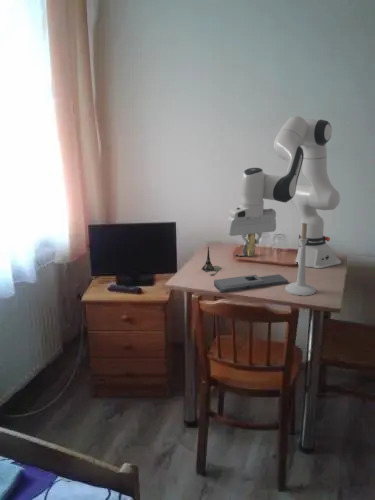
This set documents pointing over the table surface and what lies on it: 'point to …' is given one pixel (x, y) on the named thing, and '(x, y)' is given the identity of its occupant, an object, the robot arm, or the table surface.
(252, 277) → the long grey slab
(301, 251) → the candlestick
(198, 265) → the table surface
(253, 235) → the brass pin
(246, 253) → the pocket watch
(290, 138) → the robot arm
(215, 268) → the eiffel tower figurine
